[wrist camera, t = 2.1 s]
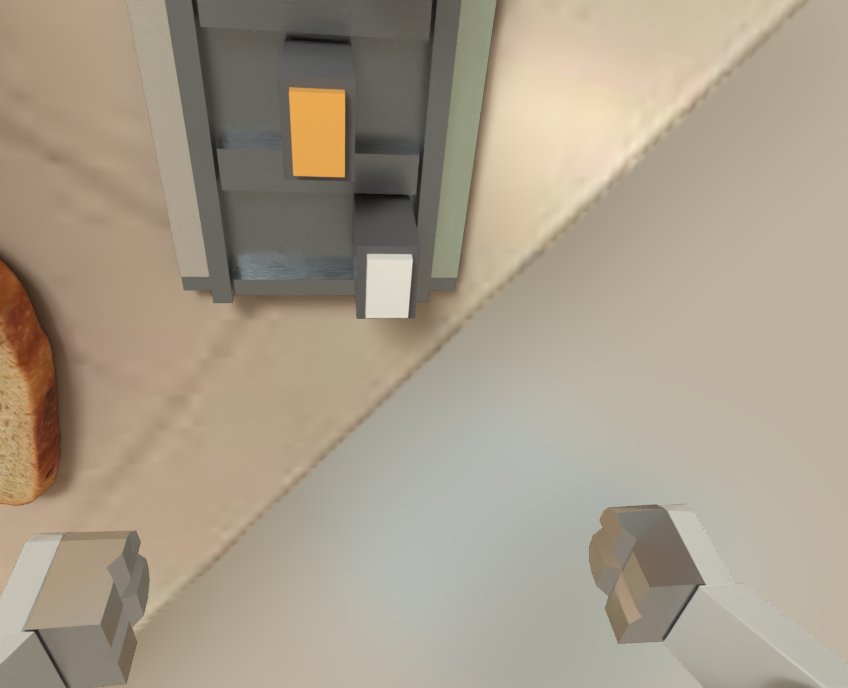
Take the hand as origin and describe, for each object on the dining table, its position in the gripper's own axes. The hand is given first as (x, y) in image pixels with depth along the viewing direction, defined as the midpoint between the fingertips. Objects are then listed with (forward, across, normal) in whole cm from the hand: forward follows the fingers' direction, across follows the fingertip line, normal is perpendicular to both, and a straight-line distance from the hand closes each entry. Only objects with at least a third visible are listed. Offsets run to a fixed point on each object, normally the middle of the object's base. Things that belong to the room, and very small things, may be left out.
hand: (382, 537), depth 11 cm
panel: (+24, +1, -2) cm, 24 cm away
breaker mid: (+22, +1, -1) cm, 22 cm away
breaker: (+23, -2, +5) cm, 23 cm away
